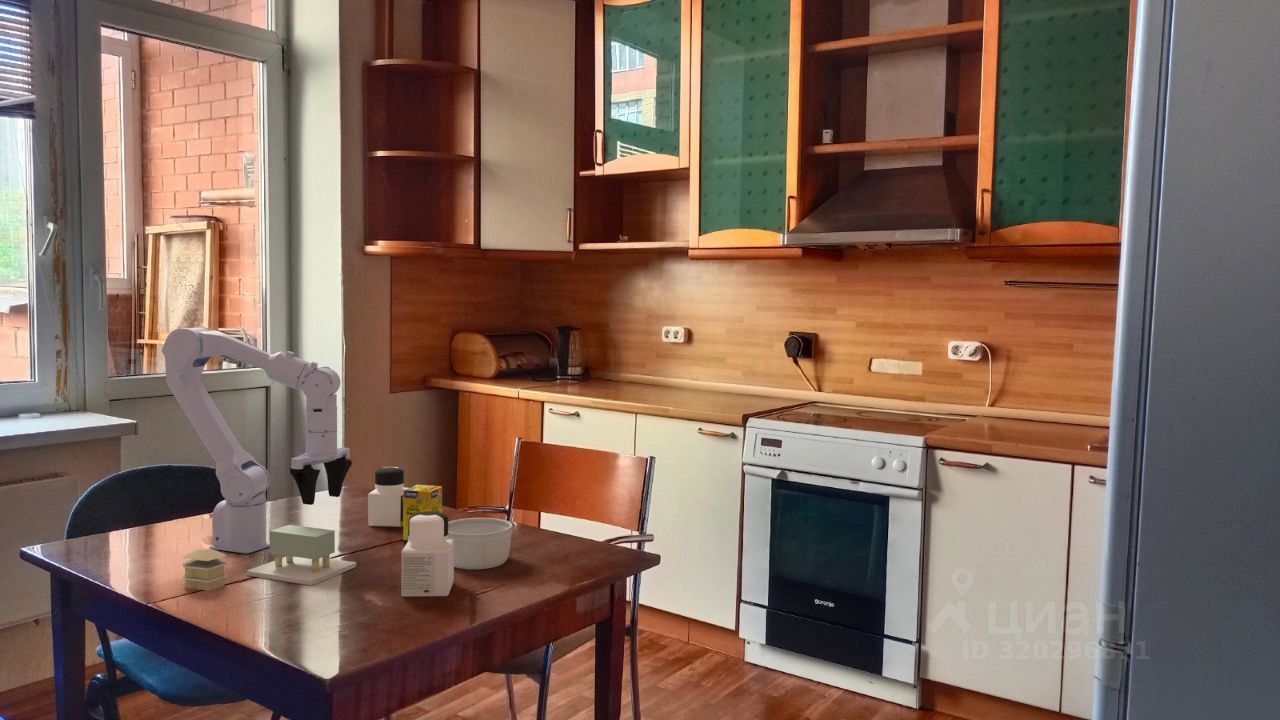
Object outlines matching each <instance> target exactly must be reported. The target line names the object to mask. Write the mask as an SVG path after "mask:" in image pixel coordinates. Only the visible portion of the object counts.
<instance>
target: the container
mask: <svg viewBox="0 0 1280 720" xmlns="http://www.w3.org/2000/svg"><path fill="white" fill-rule="evenodd" d="M448 522H449V517H448V515H447V514H445V513H443V512H442V513H441V512H435V511H425V512H419V513H416V514H414V515H412V516H410V518H409V519H408V540H409V541H408V542H407V544H405V546H404V547H403V548H402V550H401V555H400V556H401V566H400V567H401V568H400V571H401V572H400V573H401V575H400V577H401V578H400V583H401V584H400V585H401V586H400V587H401V588H400V589H401V590H400V591H401V593H400V594H401V597H448V596H449V594H450V592H451V589H452V586H453V584H454V581H455V580H454V579H455V578H454V577H455V574H454V573H455V567H454V540H453V539H448Z"/></svg>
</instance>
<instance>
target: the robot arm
mask: <svg viewBox="0 0 1280 720" xmlns="http://www.w3.org/2000/svg"><path fill="white" fill-rule="evenodd" d="M161 352H162V355H163V356H164V361H165V381H166V384H167V387H168V388H169V390H170V392H171V393H172V395H173V396H174V398H175V399H176V401H177V403H178V405H179V406H180V408H181V409H182V411H183V412H184V414H185V415H186V417H187V419H188V420H189V421H190V423H191V424H190V425H192V427H193V429H194V430H195V432H196V434H197V435H198V436H199V438H200V439H201V441H202V443H203V444H204V446H205V447H206V450H207V451H208V452H209V454H210V455H211V457H212V460H214V462H215V465H216V466H215V467H216V468H215V475H216V476H215V477H217V480H218V481H219V484H220V494H221V495H222V497H223V498H224V500H221V501H220V502H218V503H217V504H216V506H215V507H214V509H213V512H212V514H211V515H212V518H211V519H212V520H211V522H212V526H211V527H212V531H211V532H212V534H211V535H212V540H211V541H212V544H211V545H209V546H208V549H213V550H216V551H224V552H225V551H227V552H232V553H239V554H246V555H247V554H251V553H254V552H257V551H261V550H263V549H266V548H270V540H268V539H267V497H266V495H265V492H266V491H267V489H268V488H269V486H270V483H271V477H270V473H269V471H268V470H267V469H266V467H265V466H264V465H261V464H259V463H258V462H257V461H256V459H255V457H254V456H253V455H252V454H250V453H249V452H248V451H246V450H245V449H243V448H242V446H241V444H240V442H239V441H238V439H237V438H236V437H235V435H234V433H233V432H232V430H231V428H230V426H229V425H228V424H227V422H226V420H225V419H224V417H223V415H222V414H221V411H220V410H219V409H218V407H217V405H216V404H215V402H214V401H213V399H212V397H211V396H210V394H209V392H208V391H207V390H206V388H205V386H204V384H203V383H202V382H201V376H202V375H203V373H204V369H205V366H206V365H207V363H208V362H209V361H210V360H211V359H212V358H213V357H218V356H223V357H228V358H231V359H234V360H237V361H239V362H241V363H244V364H247V365H250V366H253V367H256V368H259V369H261V370H264V372H265V374H266V376H267V378H268V379H270V380H271V381H273V382H275V383H279V384H282V385H283V386H287V387H289V388H291V389H294V390H296V391H298V392H302V393H303V395H304V396H305V398H306V399H305V401H306V402H305V404H306V406H305V453H303V454H300V455H298V456H295V457H292V458H291V459H290V461H291V466H290V467H289V473H290V475H291V476H292V478H293V479H294V481H295V483H296V485H297V488H298V491H299V494H300V498H301V499H300V500H301V502H302V504H303V505H309V506H312V505H314V504H315V499H316V488H317V487H316V486H317V482H318V478H319V475H320V472H321V469H317V468H316V469H315V468H314V467H313V466H316V465H320V464H323V466H324V469H325V473H326V479H327V489H328V490H327V492H328V495H329V497H334V498H335V497H336V498H339V497H341V492H342V490H343V486H344V482H345V479H346V476H347V474H348V472H349V469H350V468H351V467H352V465H353V463H352V462H353V460H352V459H350V456H351V454H350V453H351V449H350V447H338V401H337V392H338V391H339V389H340V387H341V378H340V375H339V374H338V372H336V371H335V370H333V369H332V368H331V367H329V366H321V367H318V365H319V363H318V362H315V361H311V362H309V361H308V360H307V361H306V360H304V359H301V358H299V357H297V356H295V354H296V353H295V352H292V351H290V350H288V351H286V352H284V351H279V352H276V353H274V354H272V353H269V352H267V351H265V350H262V349H261V348H259V347H256V346H254V345H251V344H250V343H247V342H244V341H243V340H241V339H238V338H237V337H234V336H231V335H229V334H228V333H225V332H221V331H218V330H215V329H214V330H212V329H210V328H209V327H206V326H196V327H192V328H190V327H189V328H186V327H181V328H176V329H174V330H172V331H171V332H170V333H168V335H167V337H166V339H165V341H164V343H163V346H162V349H161Z"/></svg>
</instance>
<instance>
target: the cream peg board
mask: <svg viewBox="0 0 1280 720" xmlns="http://www.w3.org/2000/svg"><path fill="white" fill-rule="evenodd" d="M330 556H331V554H330V555H327V556H324V557H322V558H319V559H317V560H314V559H307V558H300V557H293V556H286V555H285V556H283V555H279V554H274V560H272V561H270V562H267V563H264V564H262V565H258V566H256V567H252V568H250V569H248V570H246V571H245V576H248V577H254V578H261V579H268V580H275V581H281V582H287V583H293V584H299V585H301V584H302V585H306V586H314V585H316V584H318V583H321V582H324V581H326V580H327V579H331V578H332V577H335V576H337V575H340V574H342V573H345V572H347V571H349V570H351V569H354V568H357V562H355V561H350V560H349V561H348V560H343V559H342V560H341V559H335V558H330Z"/></svg>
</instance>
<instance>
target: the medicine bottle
mask: <svg viewBox="0 0 1280 720" xmlns="http://www.w3.org/2000/svg"><path fill="white" fill-rule="evenodd" d="M404 473H405V470H404V469H403V468H401V467H397V466H386V467H385V466H382V467H380V468H377V469H376V470H375V471H374V488H375V489H374V490H372V491H370V492H369V493H368V494H367V495H368V501H367V502H368V506H367V507H368V519H367V522H368V526H369V527H388V528H389V527H393V528H395V527H396V528H401V527H403V507H404V490H405V489H409V488H410V487H405V479H404V478H405V474H404Z"/></svg>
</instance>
